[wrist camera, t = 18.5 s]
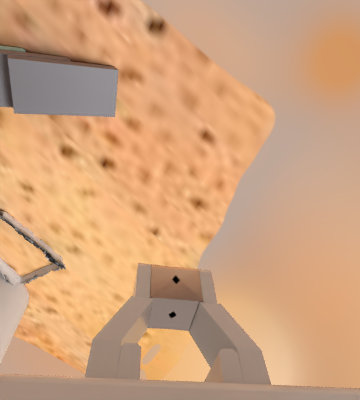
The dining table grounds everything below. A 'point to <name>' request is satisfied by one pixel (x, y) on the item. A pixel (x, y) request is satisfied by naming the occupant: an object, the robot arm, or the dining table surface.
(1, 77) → the domino
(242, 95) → the dining table surface
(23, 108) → the domino
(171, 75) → the dining table surface
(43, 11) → the dining table surface
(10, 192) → the dining table surface
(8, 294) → the cylinder vase
